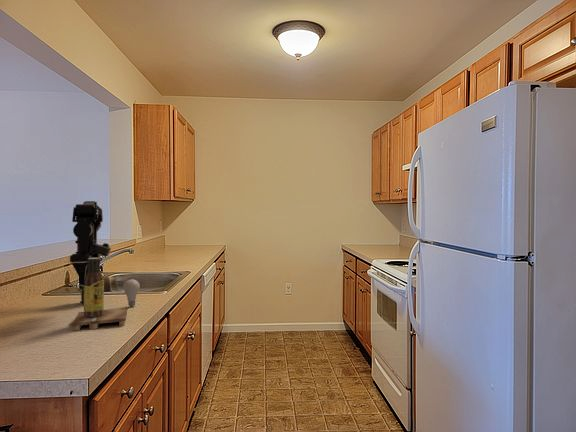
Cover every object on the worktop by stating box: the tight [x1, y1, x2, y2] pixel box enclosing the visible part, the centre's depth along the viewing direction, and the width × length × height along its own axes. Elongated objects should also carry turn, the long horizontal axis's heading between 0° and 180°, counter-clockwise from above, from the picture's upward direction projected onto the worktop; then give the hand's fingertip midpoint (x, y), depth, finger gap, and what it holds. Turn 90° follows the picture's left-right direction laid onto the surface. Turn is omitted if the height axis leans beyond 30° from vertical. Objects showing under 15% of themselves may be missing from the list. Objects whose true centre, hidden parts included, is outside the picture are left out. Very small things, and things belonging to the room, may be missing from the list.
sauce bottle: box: [83, 257, 105, 317], centre depth 136 cm, size 6×6×20 cm
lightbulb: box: [122, 278, 141, 308], centre depth 159 cm, size 6×6×11 cm
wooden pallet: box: [71, 307, 128, 331], centre depth 137 cm, size 16×14×2 cm
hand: (86, 279), depth 148 cm, fingers open, 9 cm apart
